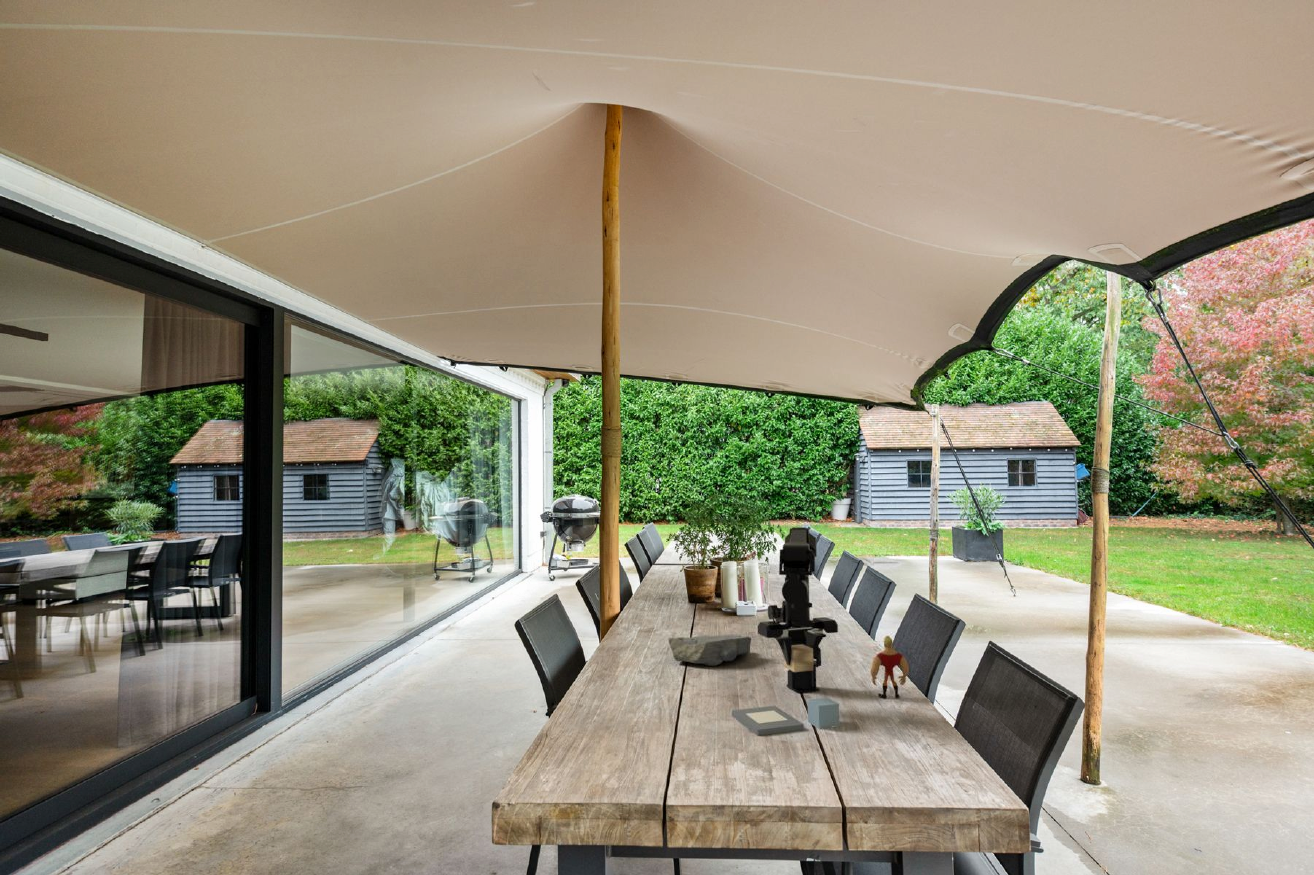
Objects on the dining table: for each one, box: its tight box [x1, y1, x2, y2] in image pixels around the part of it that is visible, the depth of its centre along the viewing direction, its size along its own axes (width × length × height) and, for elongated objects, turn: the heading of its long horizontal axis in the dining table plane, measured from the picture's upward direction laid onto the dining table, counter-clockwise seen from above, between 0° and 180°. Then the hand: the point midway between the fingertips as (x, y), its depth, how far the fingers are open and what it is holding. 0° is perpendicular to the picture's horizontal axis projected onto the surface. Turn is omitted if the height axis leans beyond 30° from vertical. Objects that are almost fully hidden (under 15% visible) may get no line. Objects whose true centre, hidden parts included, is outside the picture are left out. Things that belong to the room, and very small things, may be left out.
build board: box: [731, 705, 805, 736], centre depth 165 cm, size 11×14×1 cm
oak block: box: [783, 644, 813, 672], centre depth 175 cm, size 5×5×5 cm
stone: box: [668, 634, 752, 667], centre depth 225 cm, size 24×8×25 cm
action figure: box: [870, 635, 910, 699], centre depth 184 cm, size 10×4×15 cm, turn 91°
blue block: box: [807, 697, 840, 730], centre depth 164 cm, size 5×5×5 cm
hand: (798, 664), depth 175 cm, fingers closed on oak block, 5 cm apart
